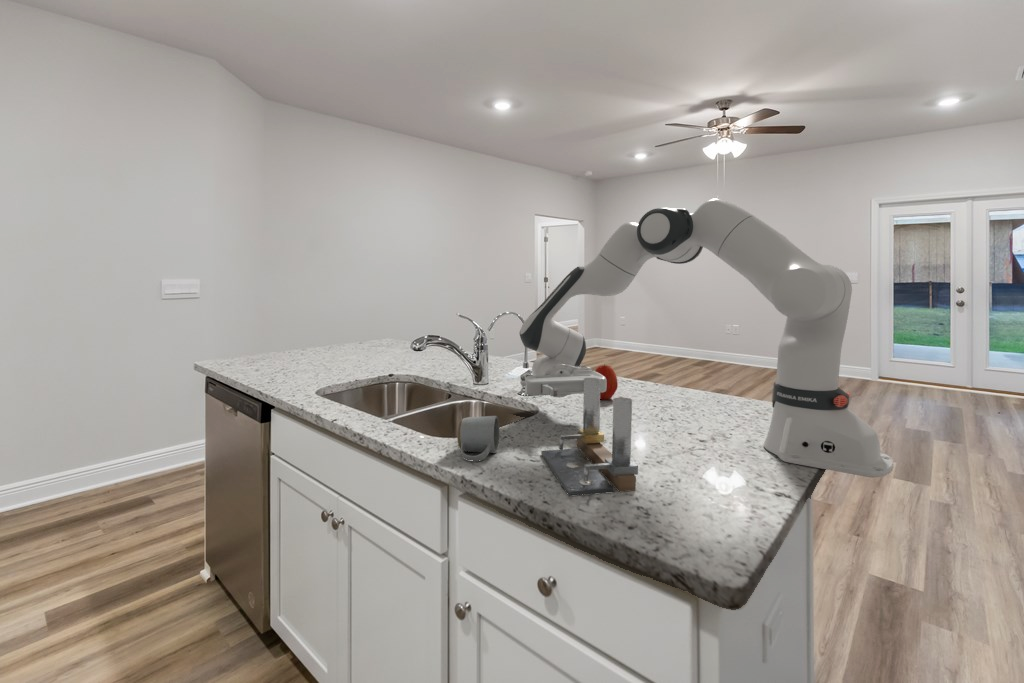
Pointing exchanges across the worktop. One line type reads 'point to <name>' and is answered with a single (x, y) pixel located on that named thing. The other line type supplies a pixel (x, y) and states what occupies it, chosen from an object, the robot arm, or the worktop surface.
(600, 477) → the hole plate
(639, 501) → the worktop surface
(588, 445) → the rail
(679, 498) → the worktop surface
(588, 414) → the sliding leg
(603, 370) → the red egg shape
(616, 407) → the fixed leg
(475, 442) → the ceramic mug
